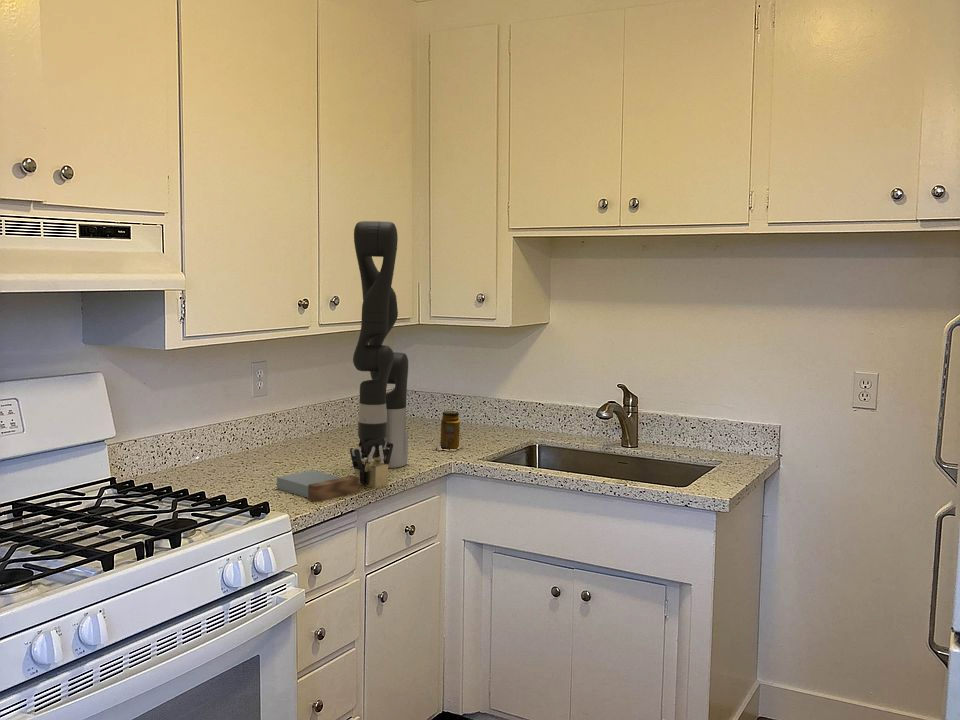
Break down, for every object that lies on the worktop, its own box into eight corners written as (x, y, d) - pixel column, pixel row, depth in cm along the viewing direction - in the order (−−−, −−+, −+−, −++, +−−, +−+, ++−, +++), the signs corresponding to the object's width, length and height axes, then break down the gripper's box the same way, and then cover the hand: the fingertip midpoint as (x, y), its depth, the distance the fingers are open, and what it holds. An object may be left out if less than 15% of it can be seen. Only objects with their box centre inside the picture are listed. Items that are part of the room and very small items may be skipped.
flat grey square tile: (313, 480, 241) (313, 469, 241) (348, 490, 232) (348, 479, 232) (276, 488, 232) (276, 477, 232) (311, 498, 223) (311, 487, 223)
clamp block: (367, 481, 244) (367, 459, 243) (387, 486, 239) (388, 464, 238) (354, 483, 240) (355, 461, 240) (375, 489, 235) (375, 466, 235)
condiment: (463, 447, 292) (464, 411, 291) (454, 452, 284) (455, 415, 283) (442, 445, 294) (443, 409, 293) (432, 450, 286) (433, 413, 285)
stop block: (351, 490, 233) (351, 475, 233) (358, 492, 231) (359, 477, 231) (308, 500, 222) (308, 484, 222) (315, 502, 220) (316, 486, 220)
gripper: (361, 425, 230) (360, 490, 232) (401, 418, 241) (400, 481, 243) (342, 421, 235) (341, 485, 237) (382, 415, 246) (381, 476, 247)
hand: (371, 482), depth 240 cm, fingers closed on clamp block, 4 cm apart
